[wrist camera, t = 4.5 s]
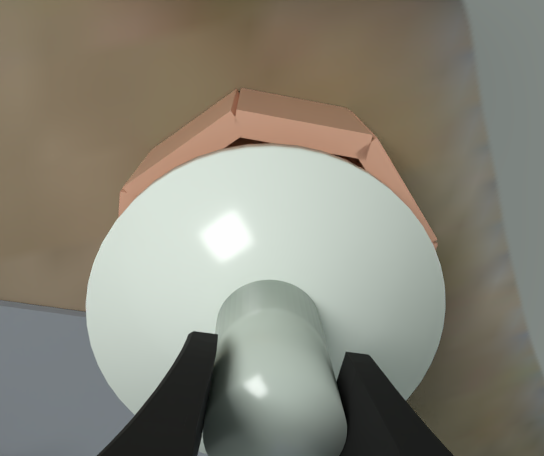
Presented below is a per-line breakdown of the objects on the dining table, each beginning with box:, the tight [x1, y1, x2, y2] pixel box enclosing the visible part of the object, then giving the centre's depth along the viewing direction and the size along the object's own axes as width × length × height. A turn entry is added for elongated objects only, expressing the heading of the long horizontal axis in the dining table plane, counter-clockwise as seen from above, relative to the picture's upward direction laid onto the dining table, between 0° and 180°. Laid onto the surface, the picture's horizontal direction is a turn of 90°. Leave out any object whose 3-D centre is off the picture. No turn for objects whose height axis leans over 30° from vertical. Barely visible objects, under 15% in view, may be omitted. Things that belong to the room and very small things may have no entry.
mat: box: [0, 300, 208, 456], centre depth 24 cm, size 12×12×1 cm
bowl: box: [118, 88, 438, 250], centre depth 18 cm, size 11×11×4 cm
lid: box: [86, 143, 446, 456], centre depth 13 cm, size 11×11×5 cm
